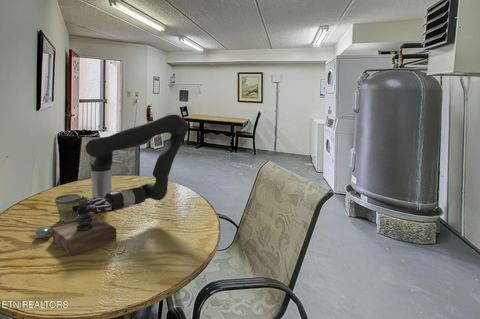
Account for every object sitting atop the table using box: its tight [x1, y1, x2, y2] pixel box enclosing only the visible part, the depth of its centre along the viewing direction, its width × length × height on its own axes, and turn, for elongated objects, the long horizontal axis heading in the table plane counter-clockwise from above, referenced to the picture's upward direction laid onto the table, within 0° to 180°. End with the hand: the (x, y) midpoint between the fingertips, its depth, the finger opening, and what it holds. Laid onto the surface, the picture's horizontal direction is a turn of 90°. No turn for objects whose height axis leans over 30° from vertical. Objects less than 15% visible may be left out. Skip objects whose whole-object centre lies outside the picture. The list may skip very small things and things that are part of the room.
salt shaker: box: [74, 195, 94, 230], centre depth 110 cm, size 6×6×12 cm
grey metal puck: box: [35, 226, 53, 240], centre depth 114 cm, size 5×5×3 cm
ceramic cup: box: [54, 193, 89, 223], centre depth 131 cm, size 13×10×10 cm
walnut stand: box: [51, 216, 118, 257], centre depth 112 cm, size 16×16×5 cm
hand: (75, 210), depth 108 cm, fingers open, 4 cm apart
